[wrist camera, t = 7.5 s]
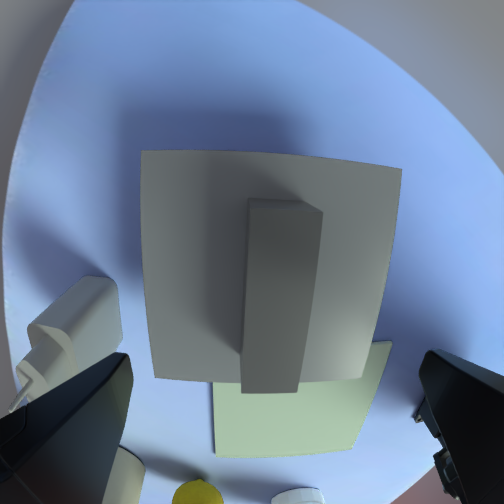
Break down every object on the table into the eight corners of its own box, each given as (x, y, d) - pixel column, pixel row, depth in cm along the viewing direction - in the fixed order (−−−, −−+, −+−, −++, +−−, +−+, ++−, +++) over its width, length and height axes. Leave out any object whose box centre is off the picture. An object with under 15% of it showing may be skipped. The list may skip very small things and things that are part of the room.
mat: (390, 340, 22) (392, 343, 21) (350, 446, 26) (351, 449, 25) (212, 344, 21) (212, 347, 21) (215, 454, 25) (215, 457, 25)
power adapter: (88, 338, 21) (15, 448, 9) (79, 274, 19) (-28, 370, 8) (123, 344, 21) (61, 468, 9) (117, 278, 19) (20, 391, 8)
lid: (394, 168, 14) (438, 172, 10) (356, 370, 17) (378, 411, 13) (146, 151, 13) (115, 147, 9) (157, 369, 16) (143, 414, 13)
